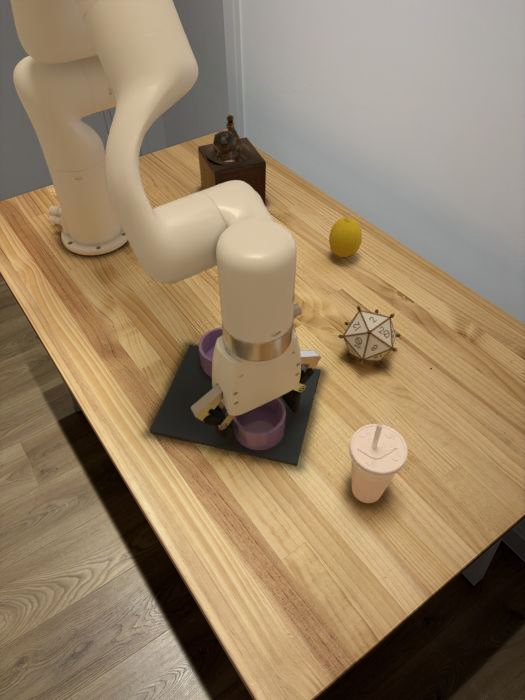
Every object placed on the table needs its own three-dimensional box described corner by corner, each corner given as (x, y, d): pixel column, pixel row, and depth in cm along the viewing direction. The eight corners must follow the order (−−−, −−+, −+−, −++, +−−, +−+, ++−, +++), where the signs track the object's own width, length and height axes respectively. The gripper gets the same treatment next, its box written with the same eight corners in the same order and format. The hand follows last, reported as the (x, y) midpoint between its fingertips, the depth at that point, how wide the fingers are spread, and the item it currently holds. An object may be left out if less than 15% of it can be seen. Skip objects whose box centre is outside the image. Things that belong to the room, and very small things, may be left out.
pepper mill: (197, 189, 112) (187, 101, 99) (248, 178, 115) (245, 90, 102) (222, 232, 103) (215, 140, 89) (277, 219, 105) (278, 127, 92)
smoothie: (336, 468, 70) (349, 402, 59) (386, 464, 70) (407, 398, 60) (345, 516, 66) (361, 453, 55) (399, 511, 66) (424, 449, 55)
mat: (149, 432, 73) (149, 430, 73) (190, 346, 84) (189, 344, 83) (296, 466, 70) (297, 464, 70) (320, 371, 80) (320, 369, 80)
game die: (372, 364, 86) (420, 323, 81) (364, 391, 79) (415, 347, 74) (330, 326, 85) (375, 282, 80) (317, 349, 78) (366, 302, 73)
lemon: (358, 247, 99) (364, 209, 93) (358, 267, 96) (365, 229, 90) (327, 245, 100) (331, 208, 94) (326, 265, 96) (331, 227, 90)
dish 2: (227, 444, 72) (225, 427, 69) (241, 403, 76) (240, 386, 73) (278, 455, 70) (278, 439, 68) (290, 413, 75) (291, 396, 72)
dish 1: (194, 374, 79) (192, 357, 77) (209, 340, 84) (207, 323, 81) (240, 383, 78) (239, 366, 75) (252, 349, 83) (252, 331, 80)
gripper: (305, 282, 64) (298, 374, 77) (168, 337, 58) (186, 427, 71) (343, 321, 60) (329, 413, 73) (200, 385, 54) (212, 472, 67)
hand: (258, 420), depth 72 cm, fingers open, 9 cm apart
